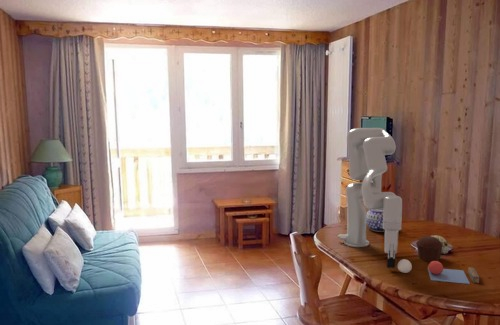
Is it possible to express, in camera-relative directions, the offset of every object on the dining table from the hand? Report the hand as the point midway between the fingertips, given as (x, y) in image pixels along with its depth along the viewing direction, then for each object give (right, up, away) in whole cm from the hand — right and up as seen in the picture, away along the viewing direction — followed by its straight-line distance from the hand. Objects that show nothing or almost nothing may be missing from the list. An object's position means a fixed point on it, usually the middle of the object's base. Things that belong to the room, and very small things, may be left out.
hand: (390, 266), depth 176 cm
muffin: (+22, 0, +14) cm, 26 cm away
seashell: (+30, +2, +25) cm, 39 cm away
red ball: (+17, +1, -5) cm, 18 cm away
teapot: (+14, +6, +61) cm, 63 cm away
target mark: (+21, -2, -6) cm, 22 cm away
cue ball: (+5, +1, -3) cm, 6 cm away
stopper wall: (+30, -2, -9) cm, 32 cm away
